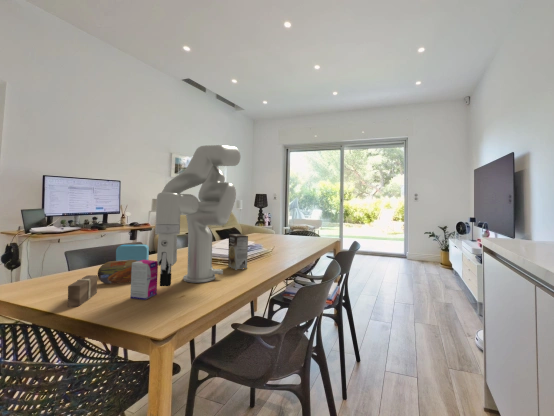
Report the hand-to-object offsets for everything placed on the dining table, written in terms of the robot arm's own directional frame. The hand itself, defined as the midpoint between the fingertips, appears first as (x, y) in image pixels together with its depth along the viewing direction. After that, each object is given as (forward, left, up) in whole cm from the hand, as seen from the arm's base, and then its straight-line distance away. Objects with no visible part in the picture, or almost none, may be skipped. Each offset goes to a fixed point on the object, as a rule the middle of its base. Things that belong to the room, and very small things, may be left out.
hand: (165, 285), depth 89 cm
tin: (+19, -20, -4) cm, 28 cm away
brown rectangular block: (+24, -1, -4) cm, 24 cm away
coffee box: (-27, -38, -4) cm, 47 cm away
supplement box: (+7, -1, -4) cm, 8 cm away
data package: (+19, -35, -4) cm, 40 cm away
